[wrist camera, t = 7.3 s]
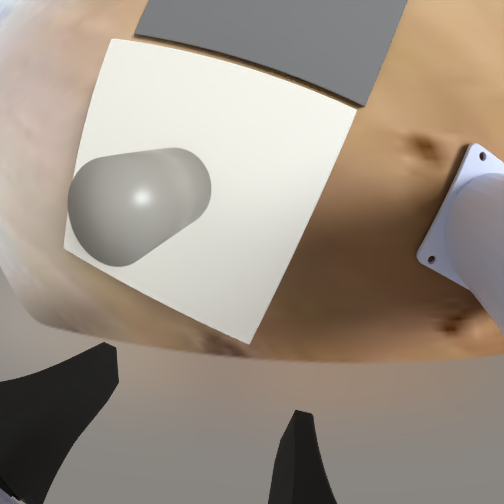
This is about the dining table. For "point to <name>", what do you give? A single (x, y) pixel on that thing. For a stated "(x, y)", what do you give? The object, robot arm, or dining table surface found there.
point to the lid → (199, 180)
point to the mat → (287, 36)
